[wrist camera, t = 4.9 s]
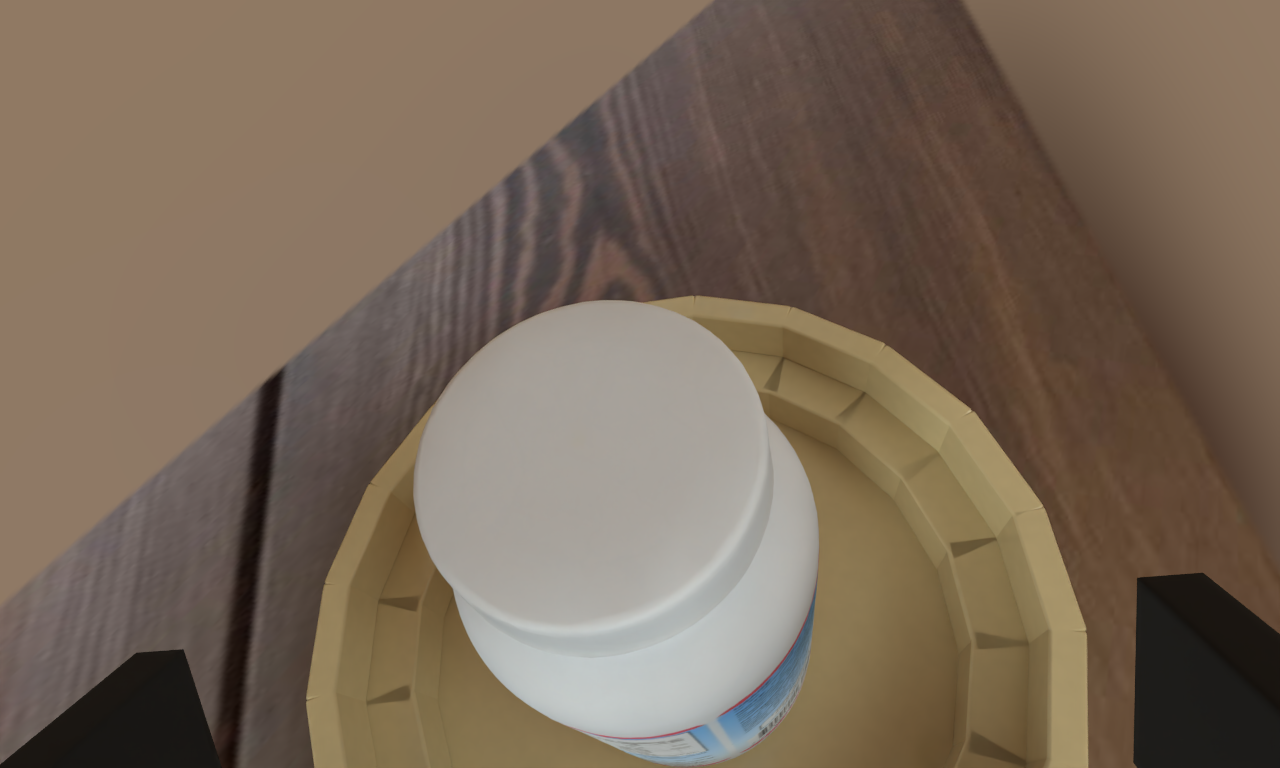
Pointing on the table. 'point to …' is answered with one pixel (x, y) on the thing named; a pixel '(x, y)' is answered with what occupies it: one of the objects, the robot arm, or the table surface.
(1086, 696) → the beige shallow round dish
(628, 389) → the pill bottle
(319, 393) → the table surface
